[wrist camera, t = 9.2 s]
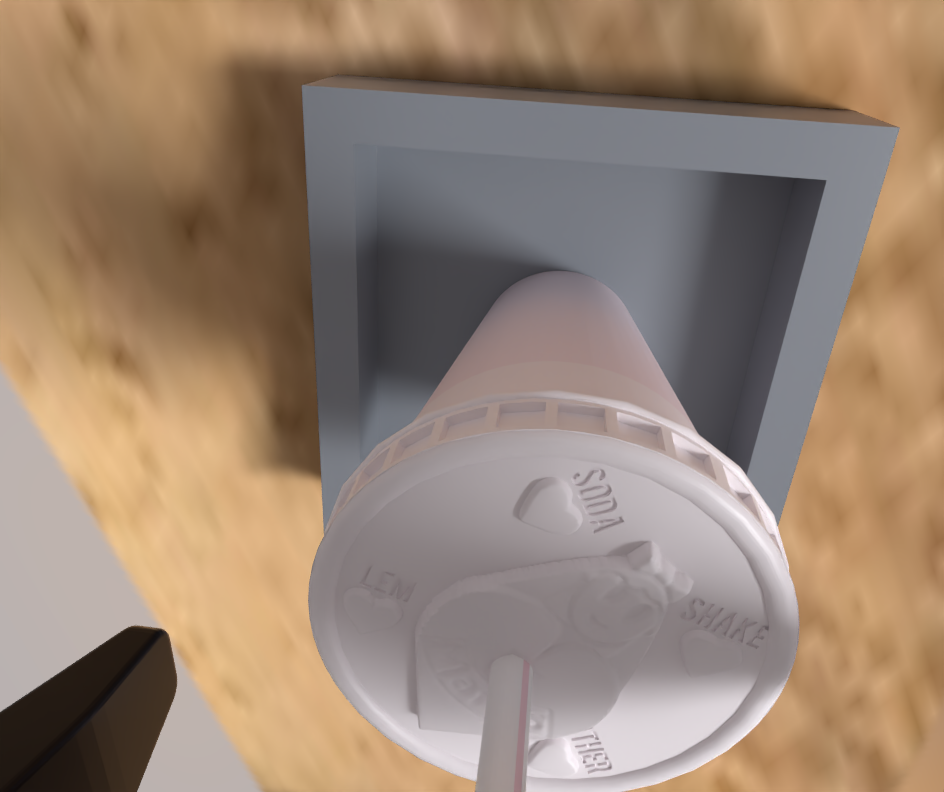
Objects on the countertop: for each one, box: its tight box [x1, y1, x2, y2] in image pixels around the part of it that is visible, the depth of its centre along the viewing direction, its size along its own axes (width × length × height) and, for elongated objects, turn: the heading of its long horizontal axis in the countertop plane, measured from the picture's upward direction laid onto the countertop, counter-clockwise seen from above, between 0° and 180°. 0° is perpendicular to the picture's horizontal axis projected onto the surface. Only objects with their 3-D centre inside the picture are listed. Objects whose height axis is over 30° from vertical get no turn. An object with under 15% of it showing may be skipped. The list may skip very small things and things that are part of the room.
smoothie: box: [308, 271, 799, 792], centre depth 12 cm, size 6×6×14 cm
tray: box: [302, 75, 900, 531], centre depth 17 cm, size 11×11×2 cm
